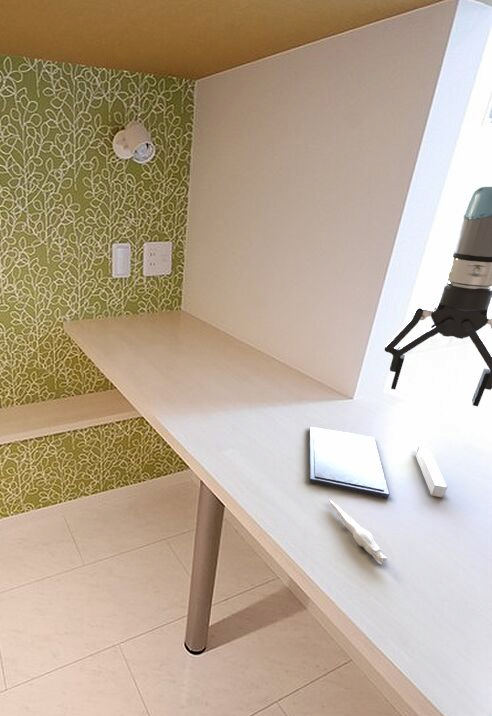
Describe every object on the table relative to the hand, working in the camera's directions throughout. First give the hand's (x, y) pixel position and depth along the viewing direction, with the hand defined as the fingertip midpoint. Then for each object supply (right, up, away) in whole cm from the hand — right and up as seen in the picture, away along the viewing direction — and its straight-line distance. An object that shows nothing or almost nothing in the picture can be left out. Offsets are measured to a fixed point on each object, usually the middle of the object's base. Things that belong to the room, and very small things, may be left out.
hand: (432, 395), depth 85 cm
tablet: (-13, -14, +8) cm, 21 cm away
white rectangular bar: (+2, -16, +4) cm, 17 cm away
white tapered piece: (-21, -23, -11) cm, 34 cm away
